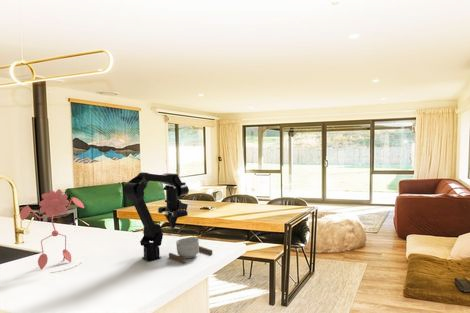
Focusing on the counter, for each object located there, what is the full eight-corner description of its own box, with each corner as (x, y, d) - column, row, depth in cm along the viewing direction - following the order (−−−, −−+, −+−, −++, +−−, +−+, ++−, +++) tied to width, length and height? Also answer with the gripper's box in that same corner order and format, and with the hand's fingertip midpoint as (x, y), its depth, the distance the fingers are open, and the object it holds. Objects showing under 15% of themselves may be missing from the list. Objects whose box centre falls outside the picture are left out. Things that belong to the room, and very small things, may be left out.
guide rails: (183, 263, 155) (183, 259, 155) (168, 257, 164) (168, 253, 164) (212, 254, 167) (212, 250, 167) (197, 249, 176) (197, 245, 176)
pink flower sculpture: (20, 269, 152) (17, 191, 150) (81, 256, 170) (78, 185, 168) (28, 280, 141) (24, 195, 139) (92, 264, 158) (90, 188, 156)
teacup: (187, 261, 157) (187, 244, 157) (171, 257, 164) (171, 240, 164) (208, 253, 168) (207, 237, 168) (192, 249, 175) (191, 234, 175)
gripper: (195, 197, 174) (196, 228, 175) (175, 194, 188) (176, 222, 189) (177, 200, 167) (178, 232, 167) (157, 196, 180) (158, 226, 181)
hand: (173, 228), depth 176 cm, fingers closed
